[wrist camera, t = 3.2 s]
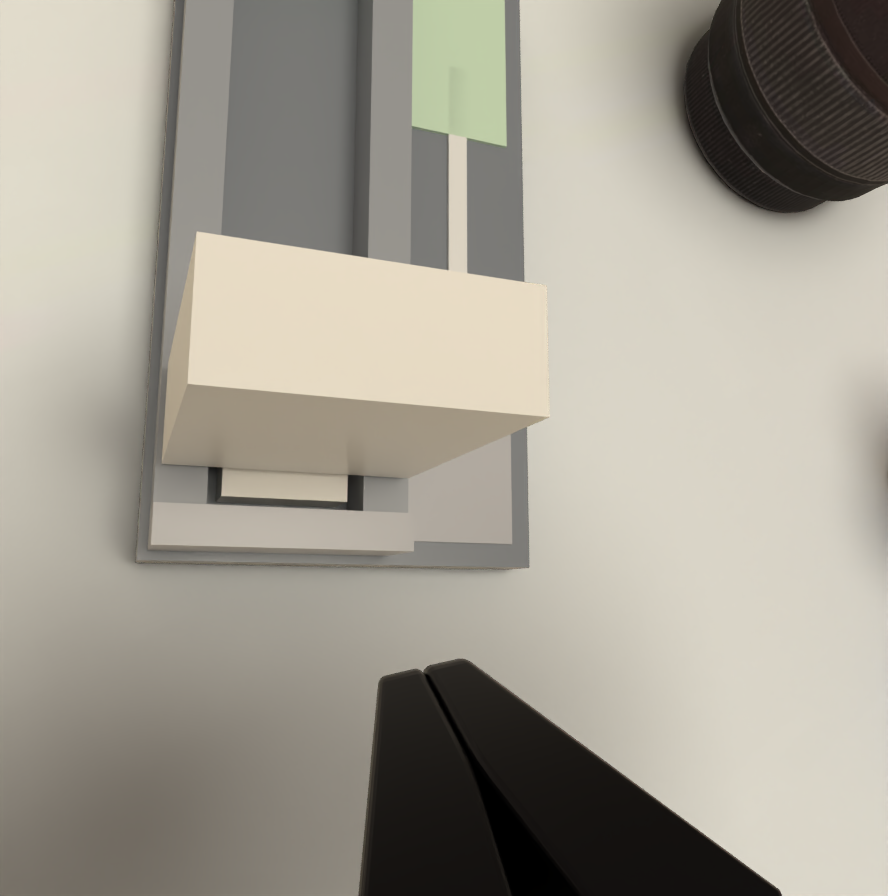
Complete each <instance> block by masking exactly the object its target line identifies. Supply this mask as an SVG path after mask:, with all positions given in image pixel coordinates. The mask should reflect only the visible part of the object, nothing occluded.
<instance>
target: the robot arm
mask: <svg viewBox="0 0 888 896" xmlns="http://www.w3.org/2000/svg"><path fill="white" fill-rule="evenodd" d="M358 896H782V894H781V892H780V890H779V889H778V888H776V887H775V886H773V885H772V884H771V883H769V882H768V881H767V880H765V879H764V878H763V877H761V876H760V875H759V874H757V873H756V872H754V871H753V870H752V869H750V868H749V867H748V866H746V865H745V864H744V863H742V862H741V861H740V860H738V859H737V858H736V857H734V856H733V855H731V854H730V853H729V852H727V851H726V850H725V849H723V848H722V847H721V846H719V845H718V844H717V843H715V842H714V841H713V840H711V839H710V838H708V837H707V836H706V835H704V834H703V833H702V832H700V831H699V830H698V829H696V828H695V827H694V826H692V825H691V824H689V823H688V822H687V821H685V820H684V819H683V818H681V817H680V816H679V815H677V814H676V813H675V812H673V811H672V810H671V809H669V808H668V807H666V806H665V805H664V804H662V803H661V802H660V801H658V800H657V799H656V798H654V797H653V796H652V795H650V794H649V793H648V792H646V791H645V790H643V789H642V788H641V787H639V786H638V785H637V784H635V783H634V782H633V781H631V780H630V779H629V778H627V777H626V776H624V775H623V774H622V773H620V772H619V771H618V770H616V769H615V768H614V767H612V766H611V765H610V764H608V763H607V762H606V761H604V760H603V759H601V758H600V757H599V756H597V755H596V754H595V753H593V752H592V751H591V750H589V749H588V748H587V747H585V746H584V745H583V744H581V743H580V742H578V741H577V740H576V739H574V738H573V737H572V736H570V735H569V734H568V733H566V732H565V731H564V730H562V729H561V728H559V727H558V726H557V725H555V724H554V723H553V722H551V721H550V720H549V719H547V718H546V717H545V716H543V715H542V714H541V713H539V712H538V711H536V710H535V709H534V708H532V707H531V706H530V705H528V704H527V703H526V702H524V701H523V700H522V699H520V698H519V697H518V696H516V695H515V694H513V693H512V692H511V691H509V690H508V689H507V688H505V687H504V686H503V685H501V684H500V683H499V682H497V681H496V680H494V679H493V678H492V677H490V676H489V675H488V674H486V673H485V672H484V671H482V670H481V669H480V668H478V667H477V666H476V665H474V664H473V663H471V662H470V661H468V660H465V659H455V660H451V661H447V662H442V663H438V664H434V665H430V666H428V667H427V668H426V669H425V670H424V671H423V672H422V671H421V670H418V669H412V670H408V671H404V672H399V673H395V674H391V675H386V676H383V677H382V678H381V679H380V681H379V684H378V692H377V702H376V713H375V724H374V734H373V745H372V756H371V766H370V777H369V788H368V798H367V809H366V820H365V831H364V841H363V852H362V863H361V873H360V884H359V895H358Z"/></svg>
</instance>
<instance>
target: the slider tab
mask: <svg viewBox="0 0 888 896" xmlns="http://www.w3.org/2000/svg"><path fill="white" fill-rule="evenodd" d="M549 417H550V414H549V370H548V326H547V286H546V285H540V284H533V283H527V282H521V281H514V280H508V279H501V278H495V277H488V276H482V275H475V274H469V273H462V272H456V271H449V270H443V269H436V268H430V267H424V266H417V265H411V264H404V263H398V262H391V261H385V260H378V259H372V258H365V257H359V256H352V255H346V254H340V253H333V252H327V251H320V250H314V249H307V248H301V247H294V246H288V245H281V244H275V243H268V242H262V241H256V240H249V239H243V238H236V237H230V236H223V235H217V234H210V233H204V232H196V237H195V242H194V246H193V251H192V255H191V260H190V265H189V269H188V274H187V279H186V283H185V288H184V292H183V297H182V302H181V306H180V311H179V315H178V320H177V325H176V329H175V334H174V338H173V343H172V348H171V352H170V357H169V361H168V372H167V388H166V403H165V418H164V433H163V449H162V464H172V465H189V466H206V467H217V481H216V500H215V502H223V503H246V504H269V505H291V506H314V507H337V506H339V505H341V504H343V503H346V502H347V487H348V475H360V476H377V477H394V478H411V477H413V476H415V475H417V474H420V473H422V472H424V471H427V470H429V469H431V468H434V467H436V466H438V465H440V464H443V463H445V462H447V461H450V460H452V459H454V458H457V457H459V456H461V455H463V454H466V453H468V452H470V451H473V450H475V449H477V448H480V447H482V446H484V445H486V444H489V443H491V442H493V441H496V440H498V439H500V438H503V437H505V436H507V435H510V434H512V433H514V432H516V431H519V430H521V429H523V428H526V427H528V426H530V425H533V424H535V423H537V422H539V421H542V420H544V419H546V418H549Z"/></svg>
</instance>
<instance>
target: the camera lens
mask: <svg viewBox="0 0 888 896" xmlns="http://www.w3.org/2000/svg"><path fill="white" fill-rule="evenodd" d="M684 92H685V103H686V110H687V114H688V118H689V122H690V126H691V129H692V131H693V134H694V136H695V139H696V141H697V143H698V145H699V147H700V149H701V150H702V152H703V154H704V156H705V158H706V159H707V161H708V162H709V163H710V165H711V166H712V167H713V169H714V170H715V171H716V173H717V174H718V175H719V176H720V177H721V178H722V179H723V180H724V181H725V182H726V183H727V185H728V186H729V187H731V188H732V189H733V190H734V191H736V192H737V193H738V194H739V195H741V196H743V197H744V198H746V199H748V200H750V201H751V202H753V203H755V204H756V205H758V206H761V207H764V208H767V209H770V210H774V211H779V212H800V211H805V210H808V209H811V208H813V207H815V206H817V205H819V204H821V203H823V202H825V201H844V200H850V199H853V198H857V197H859V196H861V195H863V194H865V193H867V192H869V191H871V190H874V189H876V188H878V187H880V186H882V185H885V184H888V0H722V1H721V2H720V4H719V6H718V8H717V10H716V12H715V15H714V17H713V21H712V24H711V27H710V29H709V30H708V32H707V33H706V34H705V35H704V36H703V37H702V38H701V39H700V40H699V42H698V43H697V45H696V46H695V48H694V50H693V52H692V54H691V56H690V59H689V61H688V63H687V69H686V76H685V82H684Z"/></svg>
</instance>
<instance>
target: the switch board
mask: <svg viewBox="0 0 888 896" xmlns="http://www.w3.org/2000/svg"><path fill="white" fill-rule="evenodd" d="M196 232H204V233H210V234H217V235H223V236H230V237H236V238H243V239H249V240H256V241H262V242H268V243H275V244H281V245H288V246H294V247H301V248H307V249H314V250H320V251H327V252H333V253H340V254H346V255H352V256H359V257H365V258H372V259H378V260H385V261H391V262H398V263H404V264H411V265H417V266H424V267H430V268H436V269H443V270H449V271H456V272H462V273H469V274H475V275H482V276H488V277H495V278H501V279H508V280H514V281H521V282H524V237H523V181H522V124H521V67H520V10H519V0H174V13H173V28H172V42H171V56H170V71H169V85H168V99H167V114H166V128H165V142H164V157H163V171H162V185H161V200H160V214H159V228H158V243H157V257H156V271H155V286H154V300H153V314H152V329H151V343H150V357H149V372H148V386H147V400H146V415H145V429H144V443H143V458H142V472H141V487H140V501H139V515H138V530H137V544H136V558H135V563H179V564H233V565H287V566H341V567H395V568H449V569H503V570H509V569H520V568H529V521H528V465H527V427H526V428H523V429H521V430H519V431H516V432H514V433H512V434H510V435H507V436H505V437H503V438H500V439H498V440H496V441H493V442H491V443H489V444H486V445H484V446H482V447H480V448H477V449H475V450H473V451H470V452H468V453H466V454H463V455H461V456H459V457H457V458H454V459H452V460H450V461H447V462H445V463H443V464H440V465H438V466H436V467H434V468H431V469H429V470H427V471H424V472H422V473H420V474H417V475H415V476H413V477H411V478H394V477H377V476H360V475H348V487H347V502H346V503H343V504H341V505H339V506H337V507H314V506H291V505H269V504H246V503H223V502H215V500H216V481H217V467H206V466H189V465H172V464H162V449H163V433H164V418H165V403H166V388H167V372H168V361H169V357H170V352H171V348H172V343H173V338H174V334H175V329H176V325H177V320H178V315H179V311H180V306H181V302H182V297H183V292H184V288H185V283H186V279H187V274H188V269H189V265H190V260H191V255H192V251H193V246H194V242H195V237H196Z"/></svg>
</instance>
